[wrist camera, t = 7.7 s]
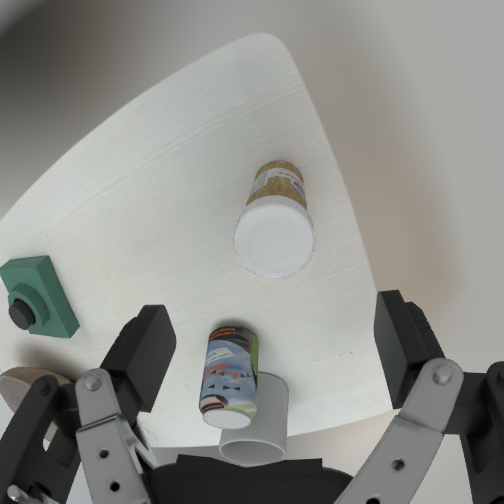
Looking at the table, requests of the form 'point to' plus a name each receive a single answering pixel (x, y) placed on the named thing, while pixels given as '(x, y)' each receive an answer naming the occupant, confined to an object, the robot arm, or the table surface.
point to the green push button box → (40, 295)
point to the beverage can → (230, 378)
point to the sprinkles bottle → (275, 224)
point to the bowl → (24, 388)
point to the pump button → (21, 314)
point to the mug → (261, 427)
